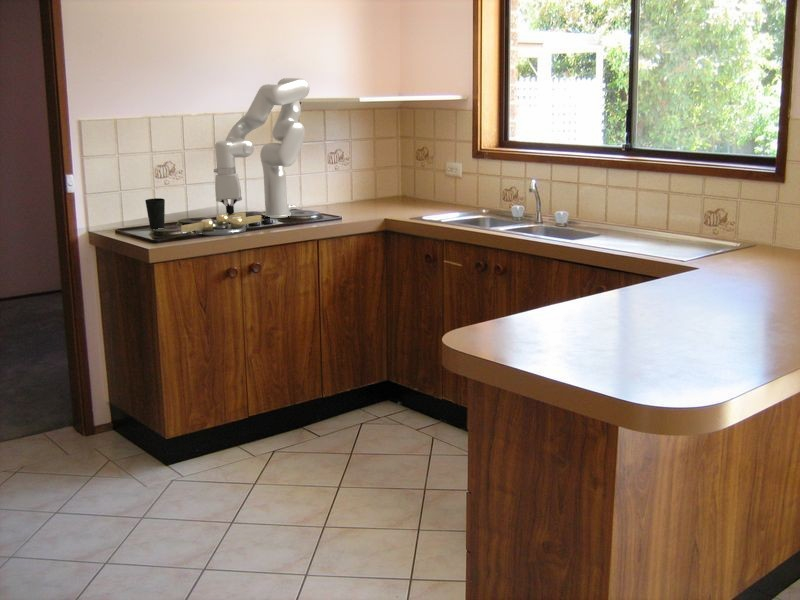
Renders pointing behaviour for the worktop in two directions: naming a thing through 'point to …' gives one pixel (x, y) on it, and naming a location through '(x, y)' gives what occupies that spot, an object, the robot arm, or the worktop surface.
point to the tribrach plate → (222, 230)
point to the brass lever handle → (244, 220)
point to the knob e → (198, 226)
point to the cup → (156, 212)
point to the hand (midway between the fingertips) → (230, 214)
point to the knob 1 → (228, 218)
